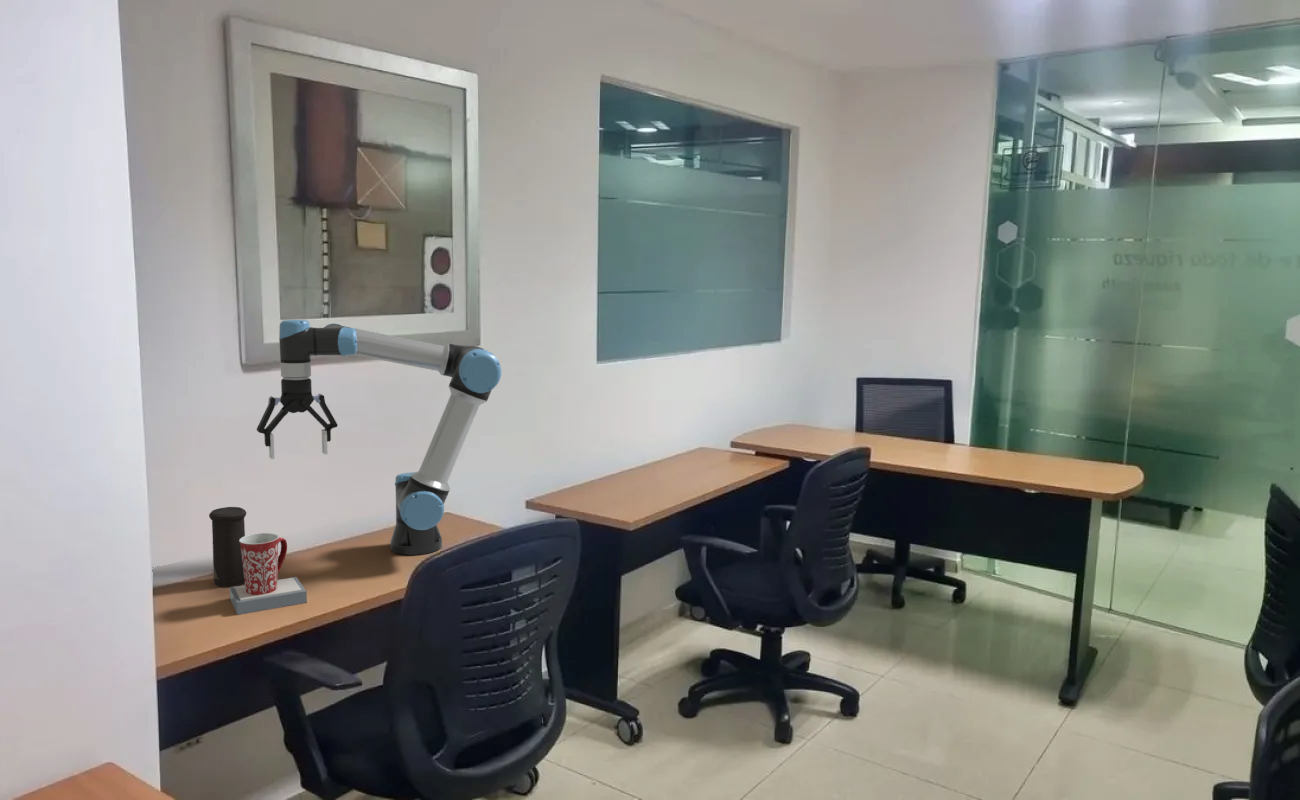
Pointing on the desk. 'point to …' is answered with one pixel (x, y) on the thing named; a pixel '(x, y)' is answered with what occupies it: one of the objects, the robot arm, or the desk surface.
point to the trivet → (269, 597)
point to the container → (228, 545)
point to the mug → (261, 561)
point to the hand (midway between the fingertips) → (298, 455)
